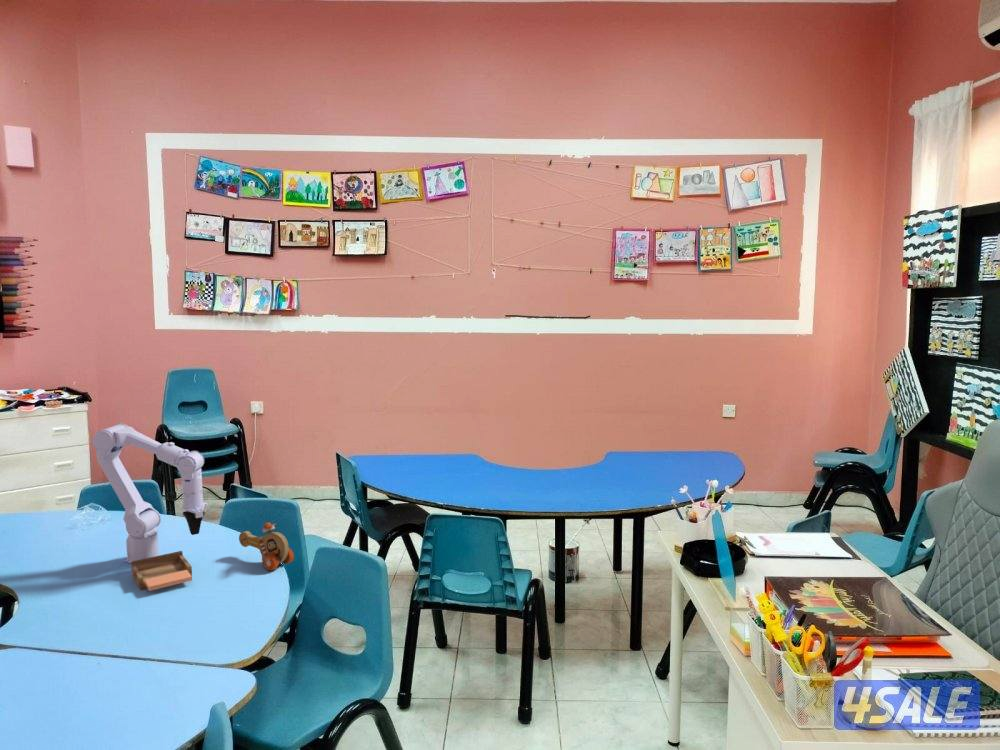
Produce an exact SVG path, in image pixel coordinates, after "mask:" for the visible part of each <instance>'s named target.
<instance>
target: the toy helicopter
mask: <svg viewBox="0 0 1000 750" xmlns="http://www.w3.org/2000/svg"><path fill="white" fill-rule="evenodd" d="M275 526H276V523H273V524H271V522H266V523H264V525H263V528H261V529H260V531H262V533H263V534H264V535H263V536H258V535H253V534H252V533H251V531H248V530H245V531H241V532H240V534H239V536H238V540H239V544H240V545H241V546H242V547H243V548H248V547H253V548H256V549H258V550H259V553H260V554H261V555H260V556H261V561H262V563H263V565H264V569H266V570H267V571H270V572H272V571H274V570H276V569H277V568H278V566H279V565H280V564H282V563H283V564H289V563H292V562H293V561H294V558H295V555H294V552H293V550H292V548H290V547H289V542H288V539H287V538H286V536H285V535H283V533H281V532H278V531H273V530H275V529H276V527H275Z"/></svg>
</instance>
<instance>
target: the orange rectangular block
mask: <svg viewBox="0 0 1000 750" xmlns="http://www.w3.org/2000/svg"><path fill="white" fill-rule="evenodd" d="M191 581H193V575H192V576H191V575H190V573H189V572H188V570H184V571H179V572H175V573H171V574H166V575H162V576H158V577H154V578H149V579H145V585H146V587H147V590H148V591H154V590H159V589H163V588H166V587H167V588H168V587H171V586H174V585H178V584H183V583H187V582H188V583H189V582H191Z"/></svg>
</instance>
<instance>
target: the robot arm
mask: <svg viewBox="0 0 1000 750" xmlns="http://www.w3.org/2000/svg"><path fill="white" fill-rule="evenodd" d="M92 444H93V446H94V448H95V454H96V460H97V463H98V464H99V466H100V468H101V469H102V471H103V473H104V475H105V477H106V479H107V480H108V482H109V484H110V485H111V487H112V489H113V491H114V493H115V494H116V496H117V498H118V500H119V502H120V503H121V505H122V506H123V508H124V510H125V511H124V514H123V521H124V523H125V530H126V532H127V534H128V536H127V538H126V543H125V544H126V558H125V559H124V562H126V563H129V564H131V562H132V561H136V560H141V559H146V558H150V557H155V556H160V554H159V553H160V552H159V550H160V549H159V538H158V537H159V535H158V528H159V527H158V526H159V525H160V524H161V523H162V516H161V514H160V513H159V511H158V510H156V509H155V508H154V507H153V505H152V504H151V503H149V502H147V501H144V499H143V498H142V496H141V494H140V492H139V491H138V489H137V487H136V486H135V484H134V482H133V480H132V478H131V476H130V475H129V473H128V471H127V470H126V467H125V466H124V464H123V463H122V461H121V459H120V455H121V452H122V450H123V448H124V447H126V446H132V447H133V446H134V447H136V448H139V449H142V450H144V451H147V452H149V453H152V454H155V456H156V459H157V460H158V461H161V462H164V463H166V464H167V465H169V466H173V467H175V468H177V470H178V472H179V473H180V478H181V490H182V491H181V492H182V493H181V494H182V510H183V512H182V515H183V517H184V519H185V520H186V522H187V526H188V530H189V533H190V534H191V536H194V535H199V534H200V529H201V525H202V521H203V518H204V517H205V514H206V512H205V511H204V507H207V506H208V502H205V501H204V496H203V495H204V494H203V493H204V491H203V474H202V467H203V466H204V464H205V457H204V456H203V454H202V453H201V452H199V451H198V450H191V451H190V450H189V449H187V448H186V449H185V448H182V447H179V446H177V445H175V442H172V441H170V442H167V441H166V442H164V443H160V442H159V441H156V440H154V439H153V438H151V437H148V436H147V435H145V434H143V433H141V432H139V431H137V430H136V429H135V428H134V427H132V426H128V425H127V424H124V423H117V424H114V425H113V426H110V427H107V428H104V429H100V430H98V431H97V432H96V433H95V435H94V438H93V440H92Z"/></svg>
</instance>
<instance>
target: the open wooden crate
mask: <svg viewBox="0 0 1000 750" xmlns="http://www.w3.org/2000/svg"><path fill="white" fill-rule="evenodd" d="M130 564H131V565H130V566H131V567H130V568H131V576H132V578H133V580H134V582H135V583H136V585H137V587H138V589H139V591H144V590H146V589H147V587H146V585H145V579H149V578H154V577H158V576H162V575H166V574H171V573H175V572H179V571H184V570H188V572H189V573H190V575H191V576H192V577H193V569H192V565H191V564H190V562H188V560H187V559H186V557H185V556H184V554H183V551H182V550H178V551H175V552H170V553H165V554H159V556H155V557H150V558H146V559H141V560H136V561H132V562H131V563H130ZM147 590H148V589H147Z"/></svg>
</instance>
